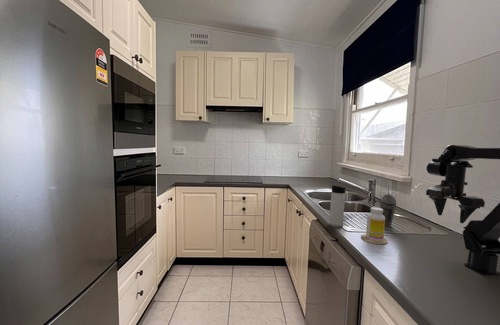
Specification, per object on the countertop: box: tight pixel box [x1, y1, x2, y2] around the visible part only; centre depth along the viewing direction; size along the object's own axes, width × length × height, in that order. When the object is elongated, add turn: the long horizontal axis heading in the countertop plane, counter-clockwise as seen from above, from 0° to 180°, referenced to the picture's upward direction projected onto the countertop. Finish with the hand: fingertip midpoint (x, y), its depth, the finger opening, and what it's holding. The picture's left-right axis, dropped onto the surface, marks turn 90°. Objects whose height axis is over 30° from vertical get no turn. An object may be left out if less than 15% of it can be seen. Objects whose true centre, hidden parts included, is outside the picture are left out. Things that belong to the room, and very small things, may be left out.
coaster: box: [360, 233, 389, 246], centre depth 104 cm, size 10×10×1 cm
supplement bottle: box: [365, 206, 386, 241], centre depth 103 cm, size 7×7×13 cm
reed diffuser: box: [379, 185, 397, 228], centre depth 123 cm, size 7×7×20 cm
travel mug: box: [328, 184, 346, 229], centre depth 119 cm, size 6×7×20 cm
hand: (450, 219), depth 93 cm, fingers open, 9 cm apart
